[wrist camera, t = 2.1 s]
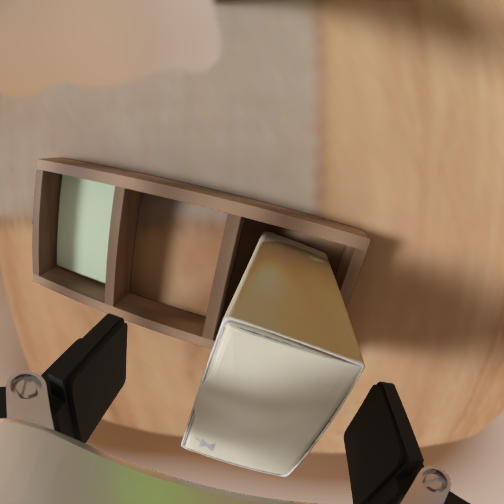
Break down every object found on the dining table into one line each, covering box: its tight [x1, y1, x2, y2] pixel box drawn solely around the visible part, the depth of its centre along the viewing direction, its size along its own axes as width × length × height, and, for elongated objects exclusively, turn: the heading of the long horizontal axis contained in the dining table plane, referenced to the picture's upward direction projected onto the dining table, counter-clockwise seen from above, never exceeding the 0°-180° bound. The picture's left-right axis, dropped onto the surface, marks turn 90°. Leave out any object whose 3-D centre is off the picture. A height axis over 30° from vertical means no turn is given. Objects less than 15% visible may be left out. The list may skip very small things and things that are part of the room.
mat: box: [57, 174, 115, 283], centre depth 21 cm, size 6×7×1 cm
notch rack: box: [32, 158, 371, 349], centre depth 20 cm, size 22×9×2 cm, turn 76°
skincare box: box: [181, 231, 365, 477], centre depth 15 cm, size 6×4×12 cm
